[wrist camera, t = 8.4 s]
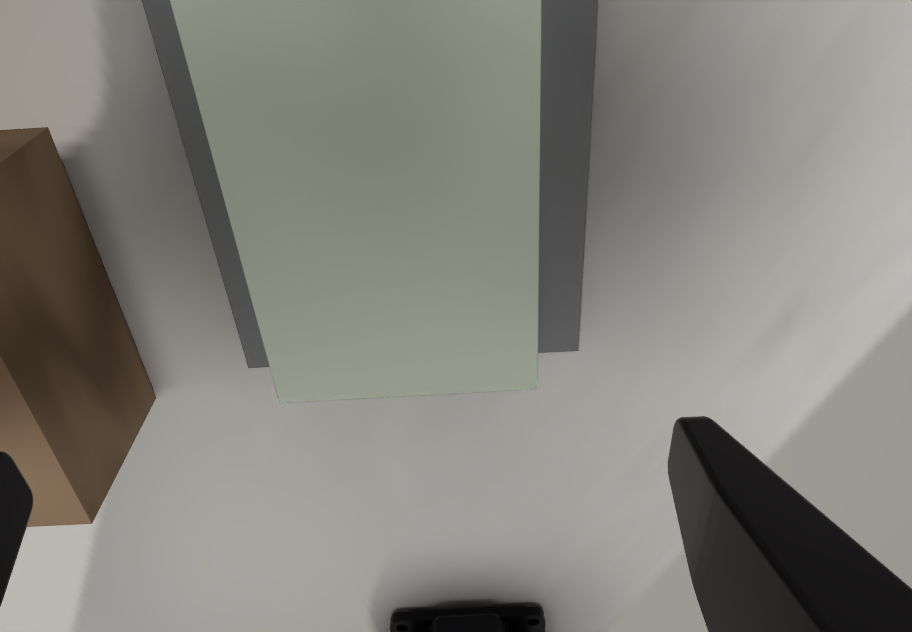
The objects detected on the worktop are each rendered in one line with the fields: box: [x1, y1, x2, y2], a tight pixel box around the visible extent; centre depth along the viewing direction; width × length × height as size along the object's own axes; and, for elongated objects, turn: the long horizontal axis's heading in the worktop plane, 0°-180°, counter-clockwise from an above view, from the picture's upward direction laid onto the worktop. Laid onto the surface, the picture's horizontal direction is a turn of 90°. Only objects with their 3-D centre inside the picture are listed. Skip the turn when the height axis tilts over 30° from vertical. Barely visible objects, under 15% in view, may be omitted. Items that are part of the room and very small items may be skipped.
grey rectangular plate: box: [142, 0, 598, 368], centre depth 18 cm, size 12×10×1 cm
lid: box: [170, 0, 541, 403], centre depth 17 cm, size 11×7×2 cm, turn 3°
